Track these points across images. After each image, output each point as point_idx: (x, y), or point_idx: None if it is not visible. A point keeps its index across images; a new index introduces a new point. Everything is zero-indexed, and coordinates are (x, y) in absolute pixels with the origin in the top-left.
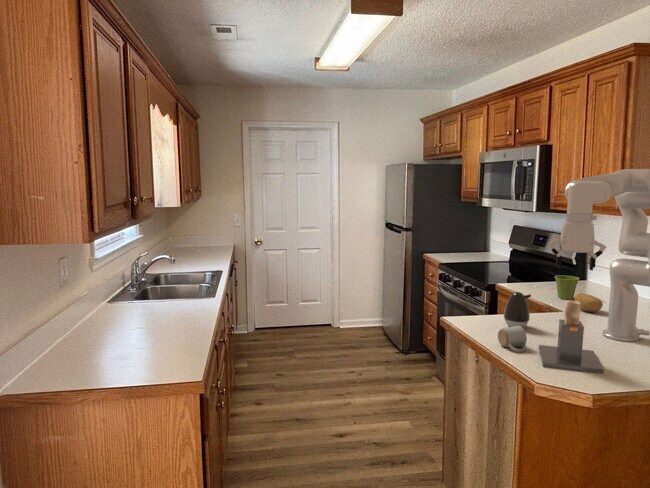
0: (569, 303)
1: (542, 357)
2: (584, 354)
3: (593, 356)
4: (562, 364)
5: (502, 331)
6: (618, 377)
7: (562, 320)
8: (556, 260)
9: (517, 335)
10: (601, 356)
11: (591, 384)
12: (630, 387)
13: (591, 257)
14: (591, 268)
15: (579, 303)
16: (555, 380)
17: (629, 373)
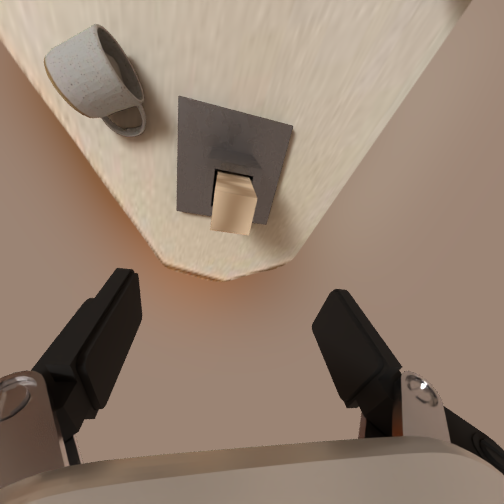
0: (217, 230)
1: (178, 187)
2: (264, 155)
3: (277, 165)
4: (208, 215)
5: (58, 91)
6: (280, 230)
7: (213, 169)
8: (65, 332)
9: (110, 106)
10: (303, 134)
11: (234, 257)
12: (279, 257)
13: (367, 399)
14: (317, 338)
15: (248, 230)
16: (190, 254)
17: (305, 213)
